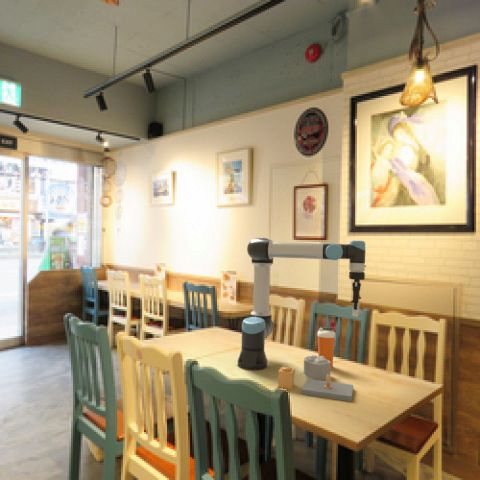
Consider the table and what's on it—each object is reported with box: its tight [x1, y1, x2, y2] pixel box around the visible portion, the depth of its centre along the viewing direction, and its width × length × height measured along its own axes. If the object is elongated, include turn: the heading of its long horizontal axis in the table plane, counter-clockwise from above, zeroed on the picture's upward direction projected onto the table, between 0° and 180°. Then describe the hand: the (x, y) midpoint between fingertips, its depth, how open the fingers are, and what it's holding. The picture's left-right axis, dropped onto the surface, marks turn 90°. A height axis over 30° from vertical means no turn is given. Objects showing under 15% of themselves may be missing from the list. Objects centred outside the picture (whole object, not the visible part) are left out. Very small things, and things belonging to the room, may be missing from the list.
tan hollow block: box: [277, 366, 296, 390], centre depth 178 cm, size 6×6×8 cm
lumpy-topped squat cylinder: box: [303, 354, 332, 381], centre depth 193 cm, size 10×13×9 cm
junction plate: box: [301, 374, 354, 402], centre depth 172 cm, size 20×14×7 cm
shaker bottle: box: [317, 325, 336, 369], centre depth 207 cm, size 9×9×20 cm
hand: (355, 313), depth 203 cm, fingers open, 13 cm apart
